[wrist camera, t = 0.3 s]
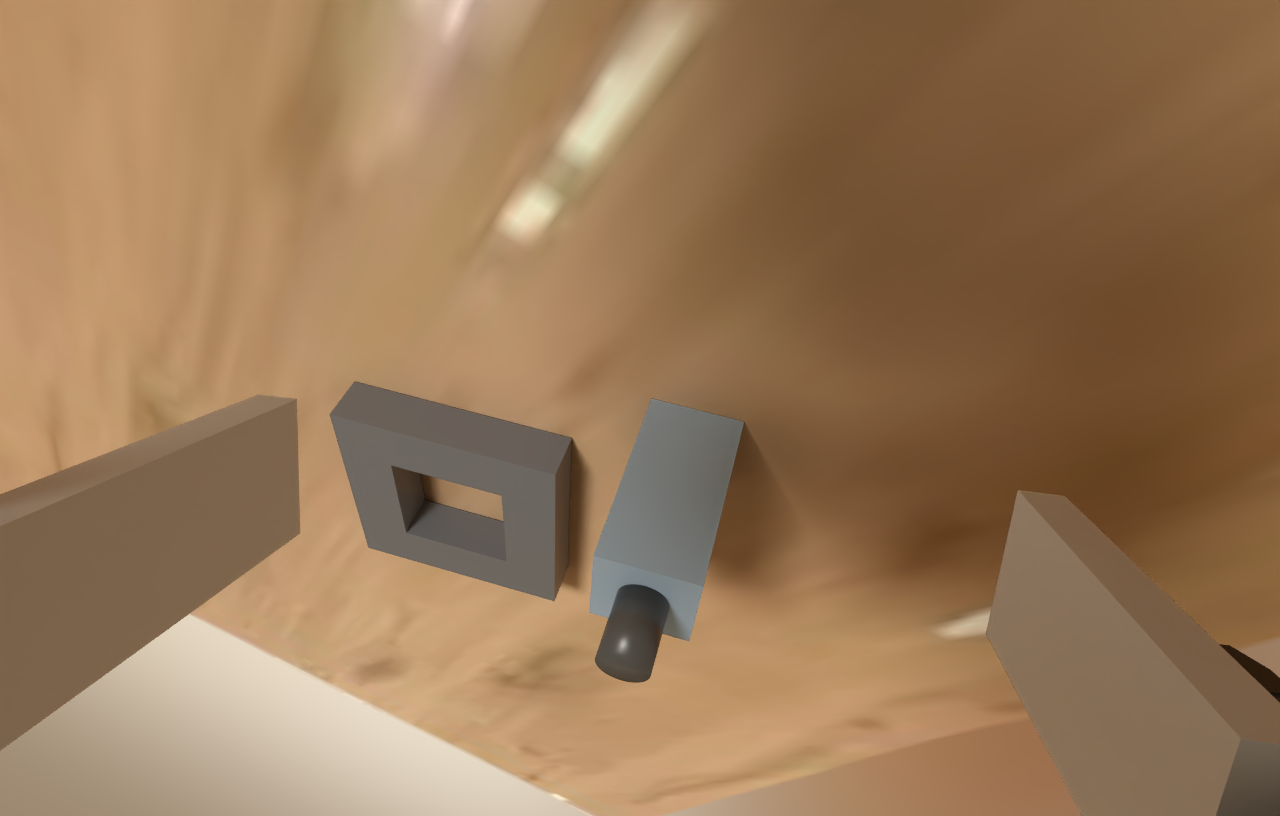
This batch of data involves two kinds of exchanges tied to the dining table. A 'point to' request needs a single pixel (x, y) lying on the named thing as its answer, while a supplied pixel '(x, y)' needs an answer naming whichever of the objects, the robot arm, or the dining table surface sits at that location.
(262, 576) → the dining table surface
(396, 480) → the frame
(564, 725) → the dining table surface
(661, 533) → the connector plug
